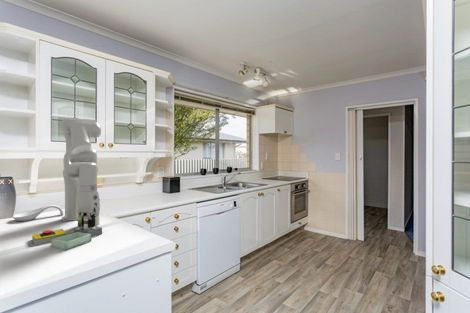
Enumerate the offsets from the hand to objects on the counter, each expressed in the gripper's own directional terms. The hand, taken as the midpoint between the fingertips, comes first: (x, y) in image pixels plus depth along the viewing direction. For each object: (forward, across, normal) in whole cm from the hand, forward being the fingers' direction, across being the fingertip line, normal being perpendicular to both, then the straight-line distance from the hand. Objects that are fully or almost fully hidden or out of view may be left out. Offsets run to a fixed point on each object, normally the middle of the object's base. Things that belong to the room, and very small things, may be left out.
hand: (88, 226), depth 116 cm
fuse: (+4, 0, 0) cm, 4 cm away
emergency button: (+5, +10, +11) cm, 16 cm away
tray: (+4, -5, +11) cm, 13 cm away
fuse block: (+4, 0, 0) cm, 4 cm away
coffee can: (+4, +13, -10) cm, 17 cm away
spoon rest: (+5, +55, -9) cm, 56 cm away
